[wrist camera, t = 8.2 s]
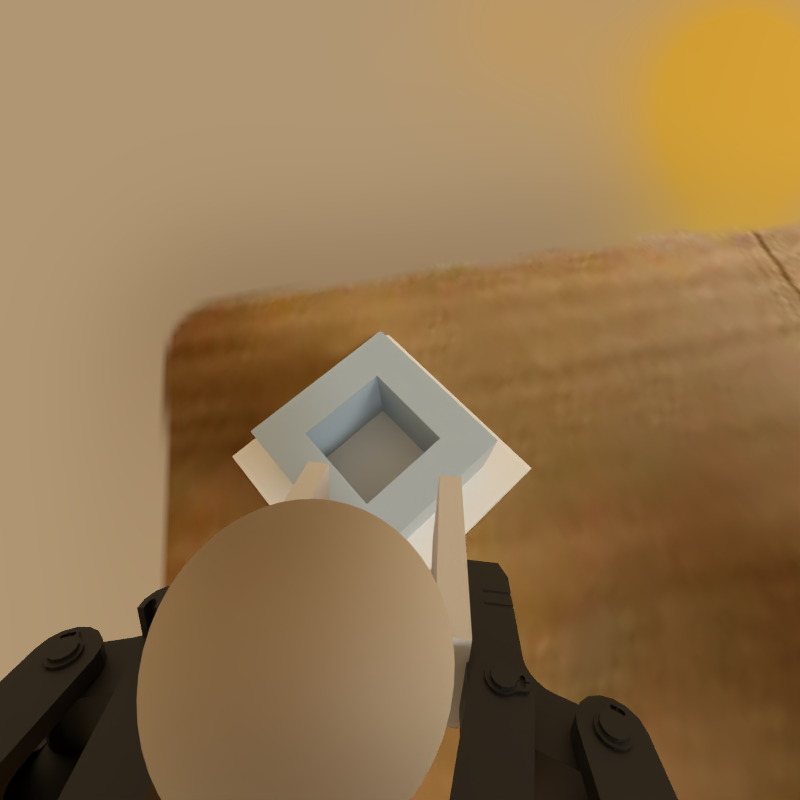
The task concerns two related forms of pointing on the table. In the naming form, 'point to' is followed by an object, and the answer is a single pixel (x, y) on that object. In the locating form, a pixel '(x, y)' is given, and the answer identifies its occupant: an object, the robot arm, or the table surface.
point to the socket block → (383, 443)
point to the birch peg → (297, 662)
